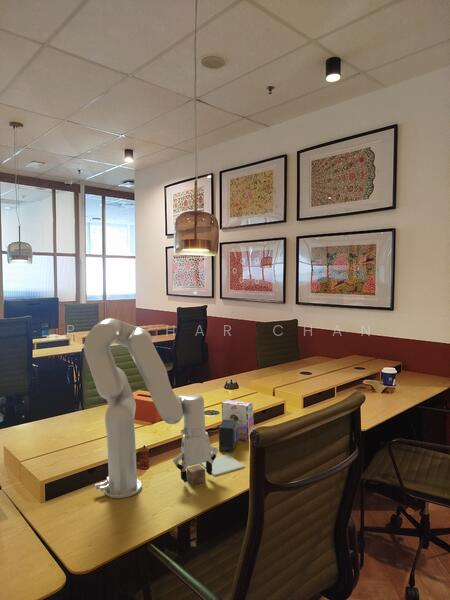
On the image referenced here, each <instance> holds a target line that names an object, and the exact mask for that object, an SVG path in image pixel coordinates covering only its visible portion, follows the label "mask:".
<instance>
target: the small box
mask: <svg viewBox="0 0 450 600" xmlns="http://www.w3.org/2000/svg"><path fill="white" fill-rule="evenodd" d="M237 443H238V440H237V420H225V419H224V420H223V421H221V423H220V424H219V426H218V451H219V452H226V453H234V450H235V449H236V446H237Z"/></svg>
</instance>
